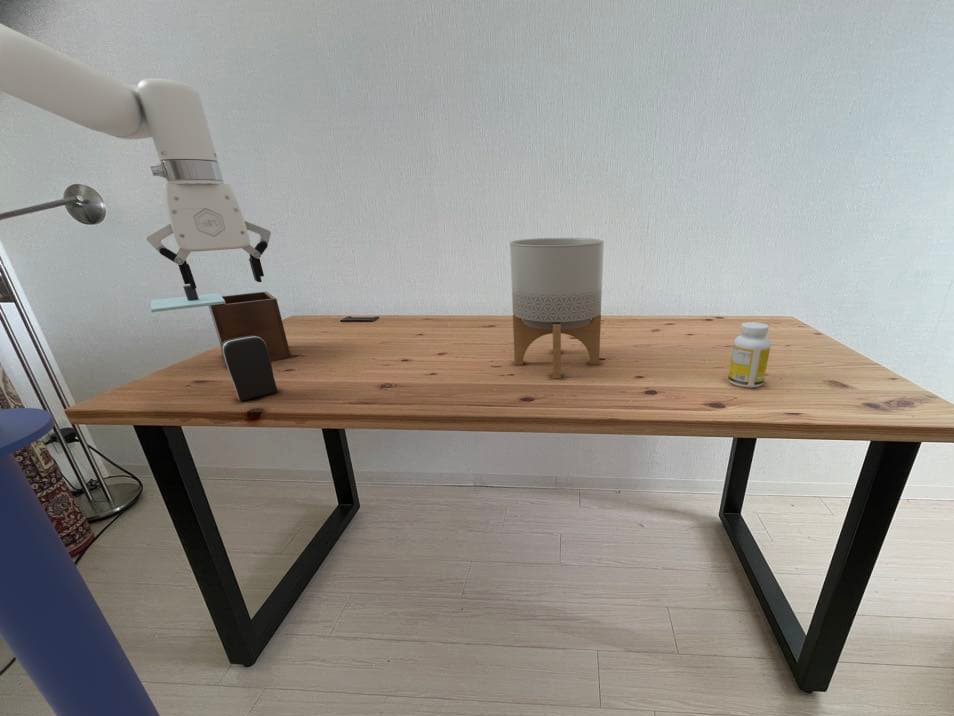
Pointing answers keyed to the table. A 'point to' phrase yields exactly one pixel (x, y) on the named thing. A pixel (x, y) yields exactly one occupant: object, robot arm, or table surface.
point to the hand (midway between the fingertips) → (227, 284)
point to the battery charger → (249, 367)
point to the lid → (187, 301)
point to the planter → (556, 293)
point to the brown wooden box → (252, 321)
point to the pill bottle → (750, 355)
